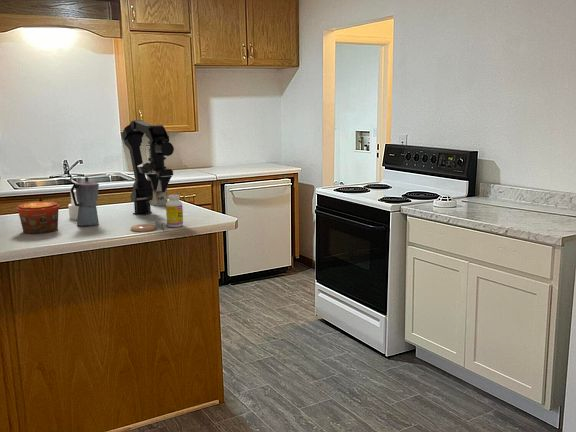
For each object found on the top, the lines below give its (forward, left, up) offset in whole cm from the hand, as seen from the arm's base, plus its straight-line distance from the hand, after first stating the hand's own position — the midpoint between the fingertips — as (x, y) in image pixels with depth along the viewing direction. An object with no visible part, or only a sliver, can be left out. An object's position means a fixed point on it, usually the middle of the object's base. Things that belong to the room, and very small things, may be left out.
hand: (159, 191), depth 243 cm
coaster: (+3, -18, -13) cm, 22 cm away
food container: (-35, -33, -13) cm, 50 cm away
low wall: (+8, -13, -13) cm, 20 cm away
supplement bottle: (+12, -8, -13) cm, 20 cm away
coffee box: (-23, +34, -13) cm, 43 cm away
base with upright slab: (-38, -6, -13) cm, 41 cm away
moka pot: (-24, -18, -13) cm, 33 cm away
